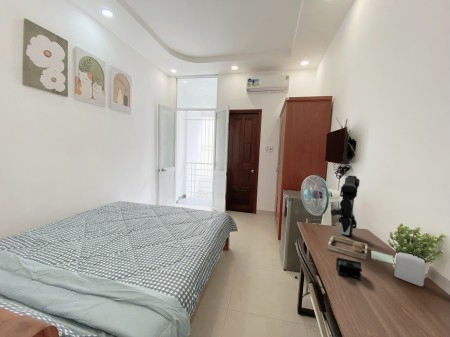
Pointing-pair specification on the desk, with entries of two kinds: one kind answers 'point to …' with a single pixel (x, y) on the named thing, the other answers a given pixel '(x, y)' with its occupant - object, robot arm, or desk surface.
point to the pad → (382, 257)
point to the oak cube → (357, 246)
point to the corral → (344, 251)
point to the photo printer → (410, 268)
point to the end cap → (348, 268)
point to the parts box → (346, 231)
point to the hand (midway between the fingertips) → (344, 230)
